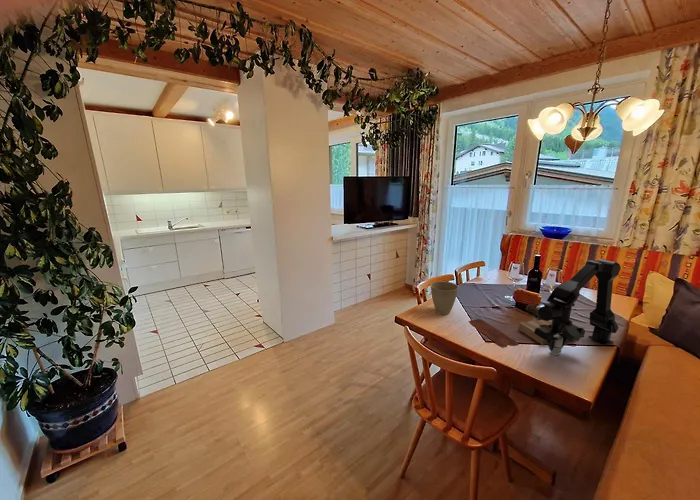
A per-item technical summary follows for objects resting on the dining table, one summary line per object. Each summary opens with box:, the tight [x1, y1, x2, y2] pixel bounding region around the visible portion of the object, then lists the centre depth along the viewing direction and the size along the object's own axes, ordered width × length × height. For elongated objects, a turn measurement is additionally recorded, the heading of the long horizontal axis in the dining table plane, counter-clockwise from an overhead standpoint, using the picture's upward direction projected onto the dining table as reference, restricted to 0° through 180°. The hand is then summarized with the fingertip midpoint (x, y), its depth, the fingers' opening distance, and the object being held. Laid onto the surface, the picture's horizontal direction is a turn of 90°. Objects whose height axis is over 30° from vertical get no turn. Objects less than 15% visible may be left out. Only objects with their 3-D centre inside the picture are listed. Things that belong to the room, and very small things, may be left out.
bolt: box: [524, 303, 543, 320], centre depth 161 cm, size 6×5×15 cm
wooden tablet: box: [468, 318, 519, 348], centre depth 143 cm, size 27×10×2 cm, turn 13°
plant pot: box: [430, 280, 460, 316], centre depth 163 cm, size 15×15×16 cm
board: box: [518, 319, 569, 346], centre depth 139 cm, size 18×14×4 cm
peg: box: [549, 335, 563, 357], centre depth 124 cm, size 4×4×8 cm
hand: (555, 349), depth 124 cm, fingers closed on peg, 4 cm apart
